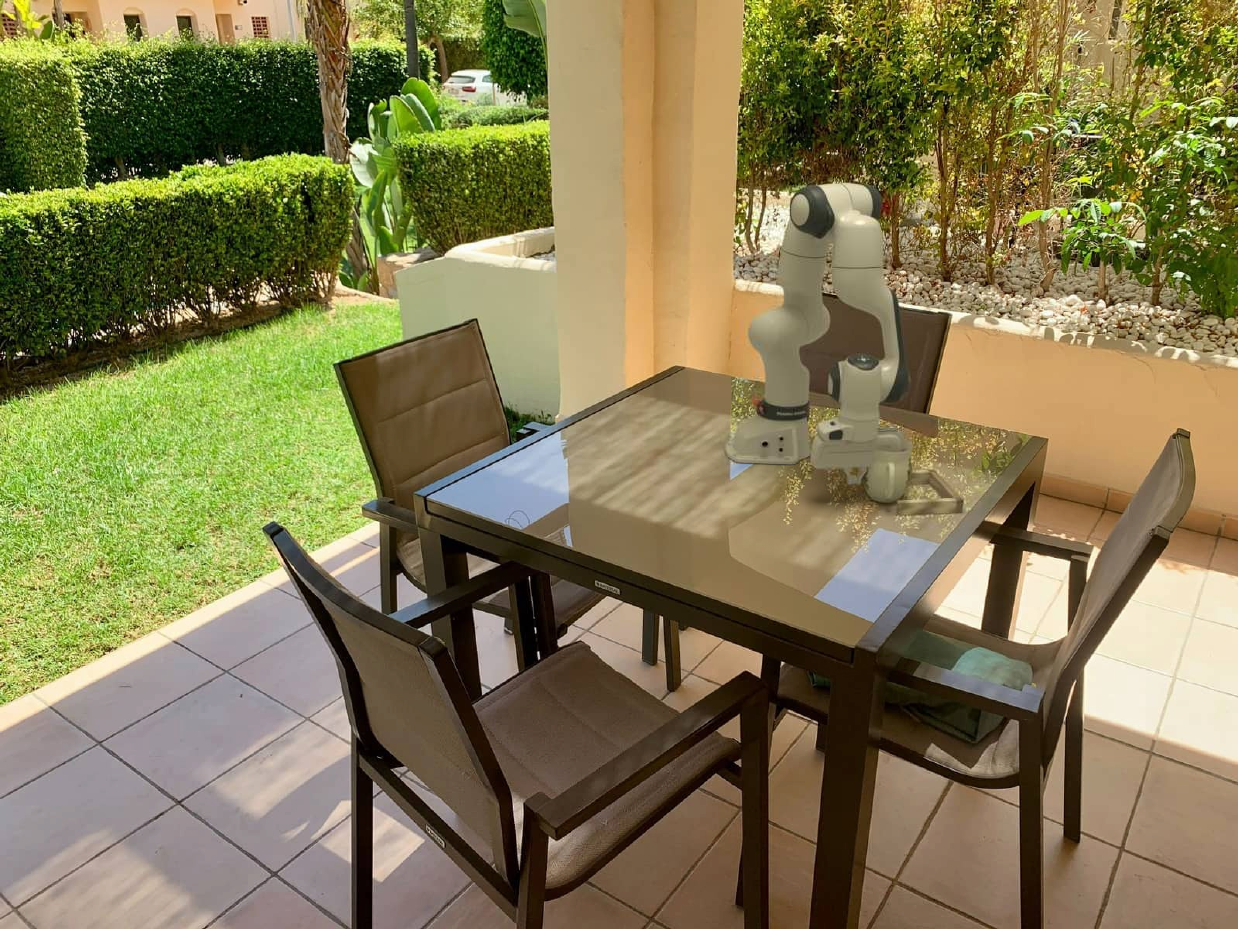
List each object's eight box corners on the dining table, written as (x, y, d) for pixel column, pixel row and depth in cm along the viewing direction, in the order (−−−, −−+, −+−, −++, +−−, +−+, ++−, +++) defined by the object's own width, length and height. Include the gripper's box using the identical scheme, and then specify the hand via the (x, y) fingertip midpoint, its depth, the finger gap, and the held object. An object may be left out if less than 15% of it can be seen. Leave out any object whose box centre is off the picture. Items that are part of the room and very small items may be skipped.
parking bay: (898, 515, 207) (899, 503, 206) (873, 483, 224) (874, 472, 223) (962, 512, 208) (963, 500, 206) (933, 481, 224) (934, 469, 223)
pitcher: (863, 513, 208) (868, 456, 203) (857, 482, 224) (862, 429, 219) (913, 516, 206) (920, 459, 201) (904, 484, 223) (910, 430, 218)
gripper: (899, 421, 211) (893, 476, 217) (810, 424, 211) (807, 480, 216) (908, 430, 206) (902, 487, 211) (817, 434, 205) (813, 491, 210)
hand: (853, 484), depth 213 cm, fingers closed
